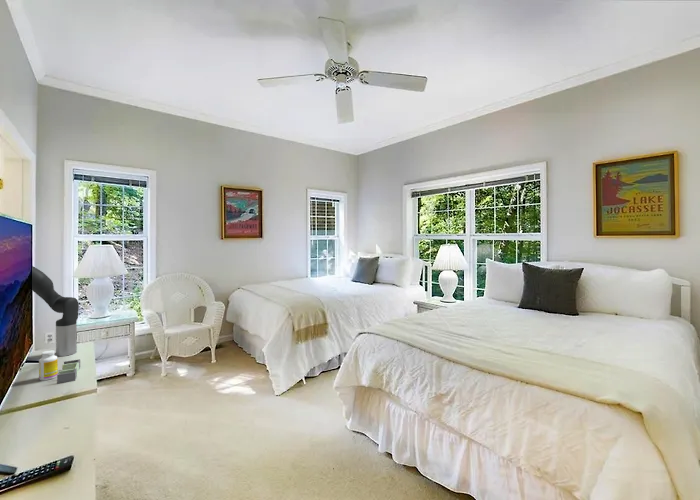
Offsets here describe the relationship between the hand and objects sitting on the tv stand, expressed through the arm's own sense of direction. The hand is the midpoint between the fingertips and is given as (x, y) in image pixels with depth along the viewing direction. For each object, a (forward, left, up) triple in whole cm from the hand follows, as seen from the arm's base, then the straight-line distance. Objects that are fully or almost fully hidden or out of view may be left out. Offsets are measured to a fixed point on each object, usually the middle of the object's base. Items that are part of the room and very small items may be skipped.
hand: (7, 346), depth 151 cm
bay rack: (+1, +22, -18) cm, 28 cm away
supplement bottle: (+1, +14, -18) cm, 23 cm away
